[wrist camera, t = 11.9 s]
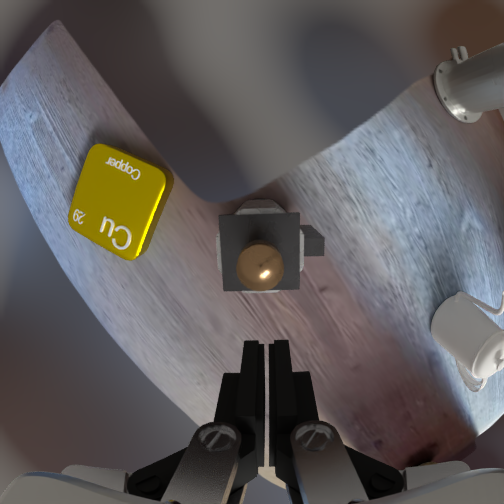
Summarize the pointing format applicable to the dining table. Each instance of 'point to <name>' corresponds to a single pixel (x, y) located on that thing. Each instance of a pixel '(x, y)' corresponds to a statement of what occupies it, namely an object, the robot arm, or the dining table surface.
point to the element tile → (119, 200)
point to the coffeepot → (470, 337)
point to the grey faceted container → (270, 229)
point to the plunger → (260, 265)
